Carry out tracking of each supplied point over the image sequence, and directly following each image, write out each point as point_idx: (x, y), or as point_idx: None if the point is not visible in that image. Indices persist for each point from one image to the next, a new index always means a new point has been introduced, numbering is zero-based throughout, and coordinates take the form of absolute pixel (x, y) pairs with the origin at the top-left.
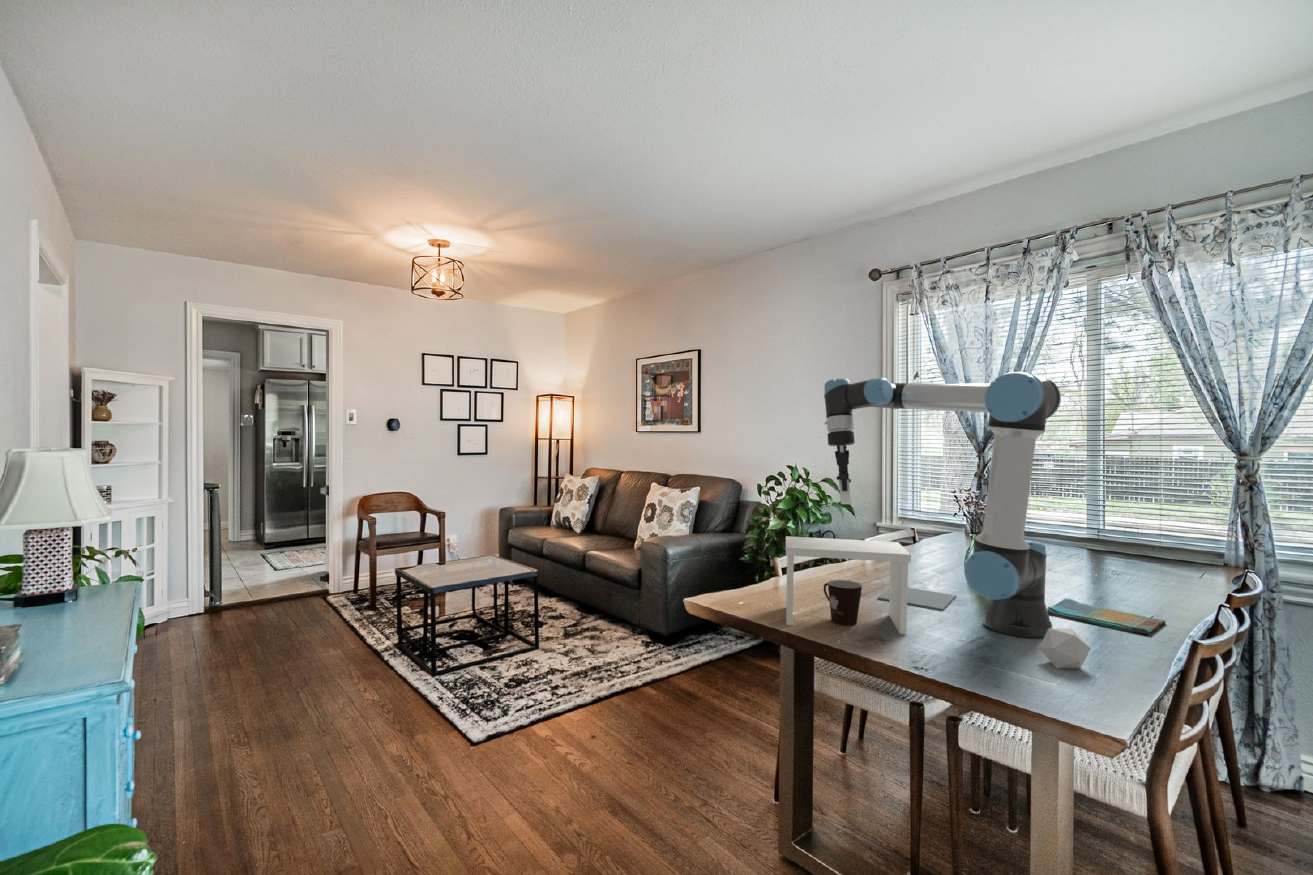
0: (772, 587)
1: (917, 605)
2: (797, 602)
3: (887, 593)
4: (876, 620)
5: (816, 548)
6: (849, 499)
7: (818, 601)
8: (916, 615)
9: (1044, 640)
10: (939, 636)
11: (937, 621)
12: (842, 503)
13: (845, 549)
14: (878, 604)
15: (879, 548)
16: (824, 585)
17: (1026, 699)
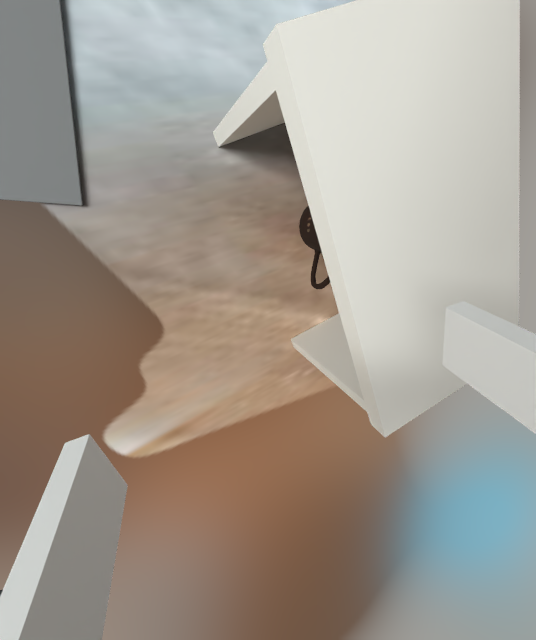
0: (175, 440)
1: (67, 73)
2: (251, 347)
3: (1, 187)
4: (277, 167)
5: (510, 287)
6: (487, 318)
7: (216, 319)
8: (174, 72)
9: None
10: (310, 6)
11: (193, 6)
12: (121, 484)
13: (501, 212)
14: (139, 191)
15: (454, 103)
16: (321, 287)
17: None
